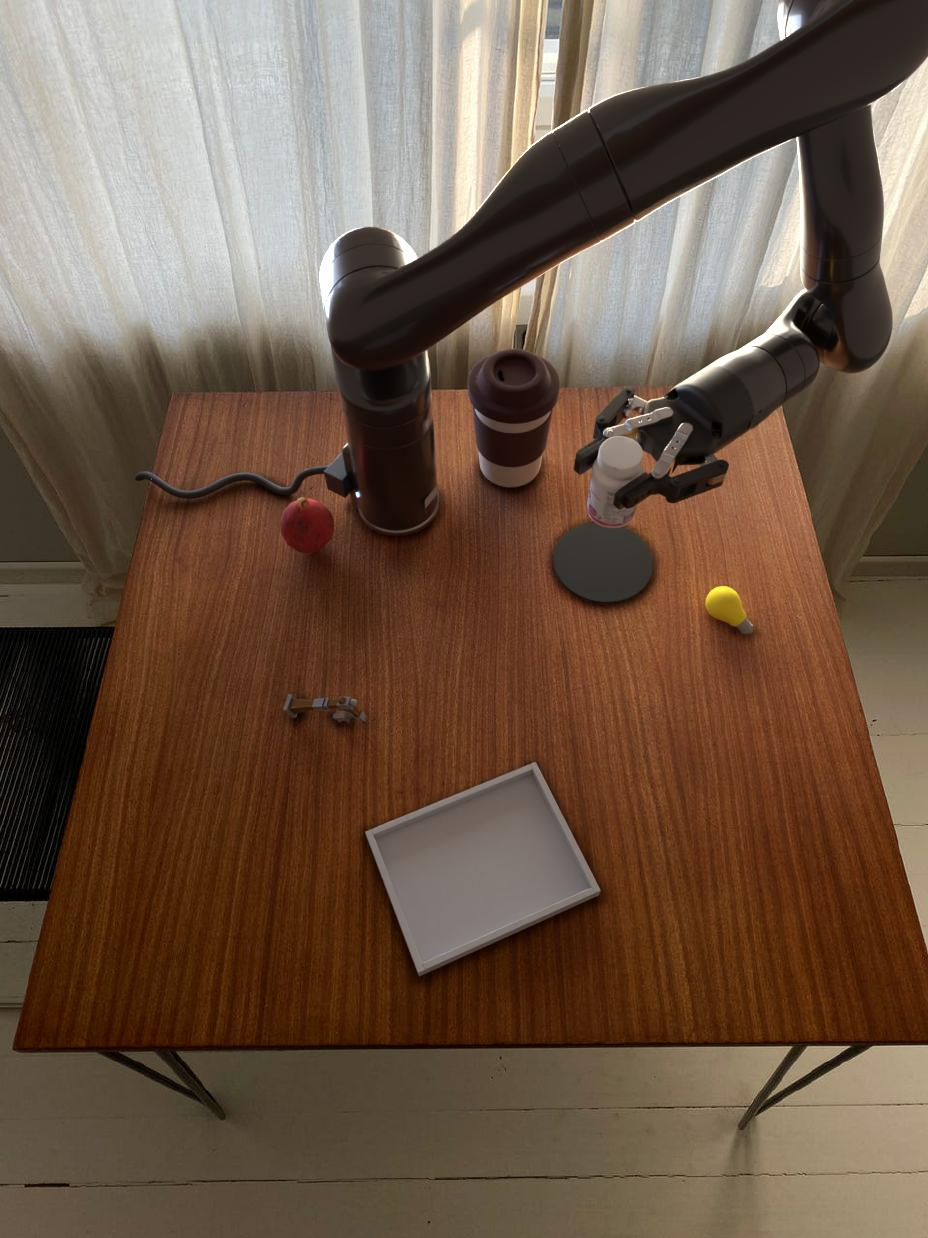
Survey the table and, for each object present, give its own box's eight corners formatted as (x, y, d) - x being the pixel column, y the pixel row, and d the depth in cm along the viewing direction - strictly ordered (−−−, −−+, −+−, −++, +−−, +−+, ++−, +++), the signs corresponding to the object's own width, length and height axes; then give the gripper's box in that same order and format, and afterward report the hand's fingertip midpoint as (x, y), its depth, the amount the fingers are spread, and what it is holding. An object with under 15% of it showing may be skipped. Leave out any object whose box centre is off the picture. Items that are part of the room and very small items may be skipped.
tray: (419, 976, 74) (418, 973, 73) (366, 837, 81) (364, 831, 79) (598, 895, 77) (601, 890, 76) (534, 767, 84) (535, 761, 83)
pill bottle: (582, 494, 87) (591, 434, 80) (629, 490, 87) (642, 430, 80) (590, 531, 85) (599, 473, 77) (638, 527, 85) (652, 469, 78)
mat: (535, 576, 96) (535, 574, 96) (581, 509, 101) (582, 507, 101) (625, 620, 93) (625, 618, 92) (668, 549, 98) (669, 547, 97)
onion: (330, 570, 97) (318, 526, 90) (280, 562, 97) (265, 517, 91) (344, 530, 100) (334, 483, 93) (296, 522, 100) (282, 476, 94)
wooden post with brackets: (372, 728, 85) (349, 706, 82) (306, 729, 89) (281, 708, 86) (377, 712, 86) (354, 689, 83) (311, 714, 90) (287, 692, 87)
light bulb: (729, 575, 91) (708, 595, 90) (769, 617, 90) (749, 638, 89) (713, 586, 94) (693, 606, 93) (753, 627, 93) (732, 647, 92)
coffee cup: (563, 450, 106) (575, 352, 93) (532, 508, 101) (540, 413, 88) (489, 426, 108) (490, 327, 96) (455, 482, 103) (452, 385, 91)
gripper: (680, 330, 85) (547, 410, 80) (794, 413, 79) (658, 505, 74) (666, 388, 91) (543, 465, 86) (771, 469, 85) (645, 557, 80)
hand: (597, 483), depth 80 cm, fingers closed on pill bottle, 4 cm apart
